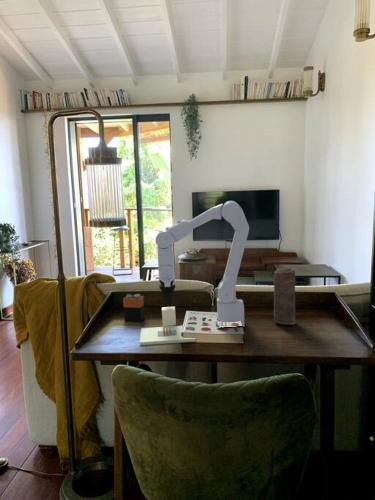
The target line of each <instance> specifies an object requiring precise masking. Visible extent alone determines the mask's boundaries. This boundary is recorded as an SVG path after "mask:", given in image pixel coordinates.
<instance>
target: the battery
mask: <svg viewBox="0 0 375 500" xmlns="http://www.w3.org/2000/svg"><path fill="white" fill-rule="evenodd" d="M144 302H145V300H144V295H141V294H140V293H136V294H134V295H133V294H132V295H131V294H129V293H128V294H126V296H125V297H123V299H122V303H123V315H124V316H123V317H124V321H125V322H138V323H139V322H142V321H143V320H144V319H145V317H146V315H145V303H144Z"/></svg>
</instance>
